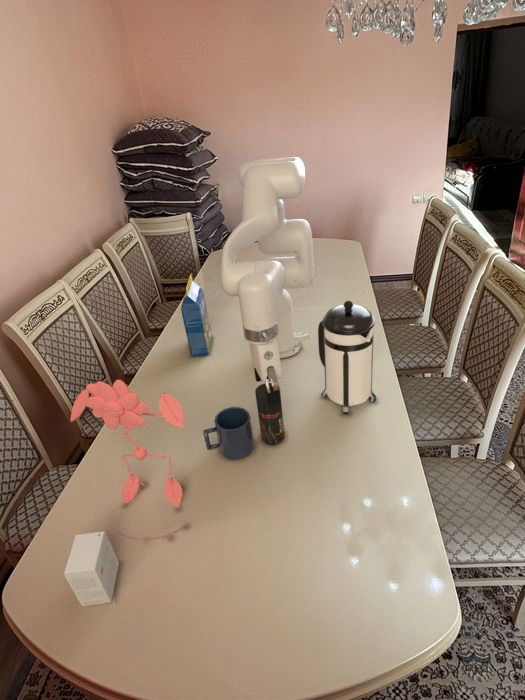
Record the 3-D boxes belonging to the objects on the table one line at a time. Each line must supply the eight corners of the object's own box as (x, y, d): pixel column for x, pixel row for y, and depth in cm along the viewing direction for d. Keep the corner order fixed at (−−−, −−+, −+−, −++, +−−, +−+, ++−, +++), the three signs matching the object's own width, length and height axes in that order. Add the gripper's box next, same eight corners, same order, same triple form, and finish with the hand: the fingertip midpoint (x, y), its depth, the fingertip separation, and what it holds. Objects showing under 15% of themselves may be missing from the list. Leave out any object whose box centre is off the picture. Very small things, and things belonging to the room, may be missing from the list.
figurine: (113, 479, 108) (66, 357, 90) (215, 490, 102) (186, 362, 84) (78, 534, 96) (14, 405, 78) (191, 551, 90) (151, 415, 71)
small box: (91, 567, 89) (74, 533, 83) (120, 563, 89) (105, 529, 84) (81, 608, 82) (61, 574, 77) (111, 603, 82) (94, 570, 77)
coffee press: (379, 383, 130) (383, 287, 114) (371, 419, 117) (375, 317, 101) (320, 376, 135) (316, 284, 120) (307, 410, 123) (301, 312, 107)
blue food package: (190, 356, 152) (175, 289, 139) (195, 338, 163) (181, 274, 150) (209, 355, 152) (196, 287, 139) (212, 337, 162) (200, 272, 149)
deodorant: (282, 446, 112) (277, 398, 104) (259, 444, 114) (252, 397, 106) (286, 429, 117) (281, 383, 109) (264, 428, 118) (258, 382, 110)
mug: (249, 432, 118) (245, 403, 113) (258, 454, 111) (254, 424, 106) (205, 444, 116) (198, 415, 111) (211, 467, 108) (205, 438, 103)
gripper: (289, 345, 92) (295, 408, 102) (265, 309, 106) (272, 368, 116) (254, 353, 91) (263, 417, 100) (235, 316, 105) (244, 375, 114)
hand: (268, 391), depth 108 cm, fingers open, 9 cm apart
